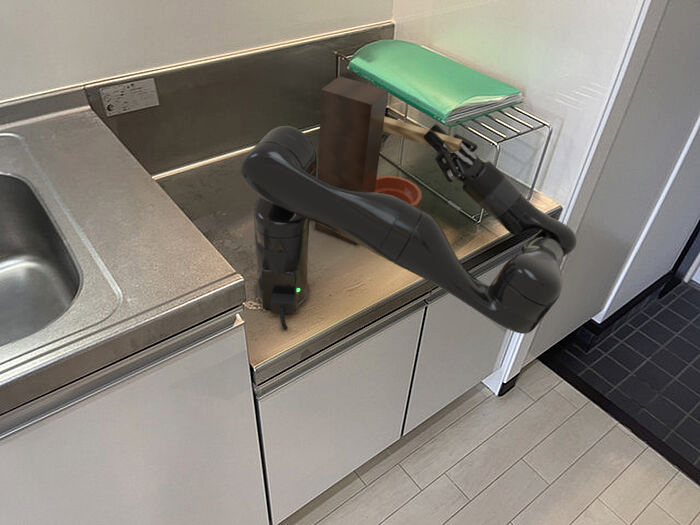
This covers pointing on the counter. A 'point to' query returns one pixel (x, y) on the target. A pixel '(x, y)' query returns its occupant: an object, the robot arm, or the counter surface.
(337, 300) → the counter surface
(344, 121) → the stand
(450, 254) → the robot arm
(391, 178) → the bowl
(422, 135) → the stick
